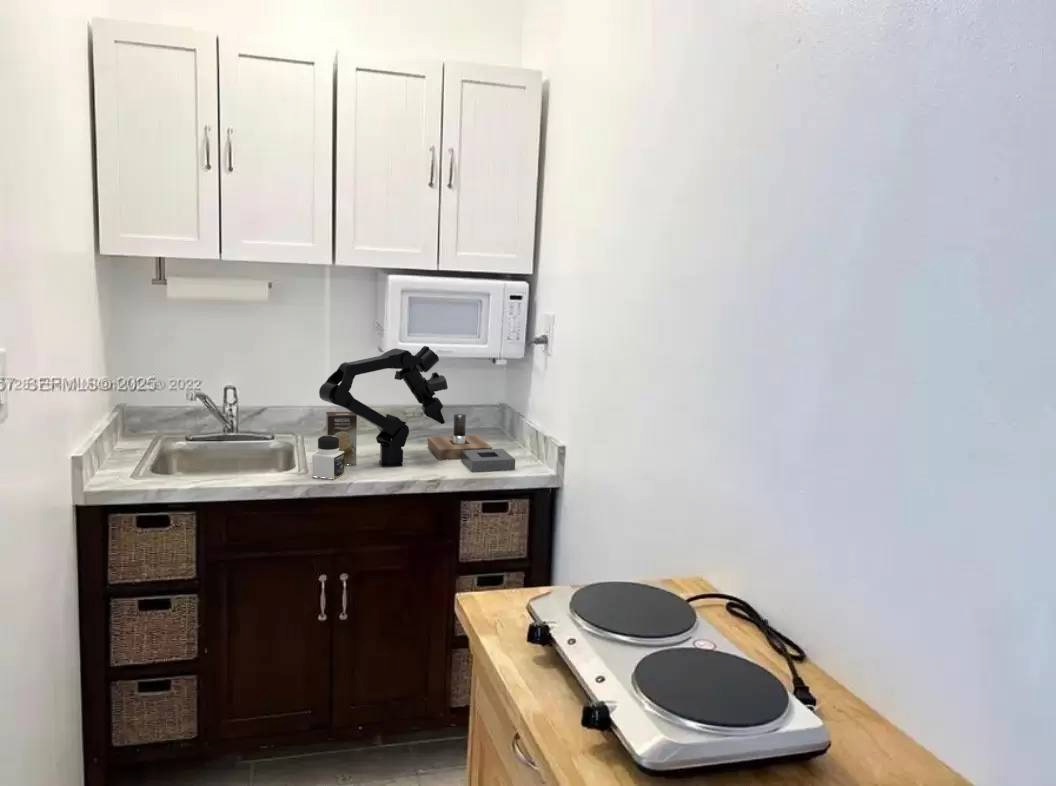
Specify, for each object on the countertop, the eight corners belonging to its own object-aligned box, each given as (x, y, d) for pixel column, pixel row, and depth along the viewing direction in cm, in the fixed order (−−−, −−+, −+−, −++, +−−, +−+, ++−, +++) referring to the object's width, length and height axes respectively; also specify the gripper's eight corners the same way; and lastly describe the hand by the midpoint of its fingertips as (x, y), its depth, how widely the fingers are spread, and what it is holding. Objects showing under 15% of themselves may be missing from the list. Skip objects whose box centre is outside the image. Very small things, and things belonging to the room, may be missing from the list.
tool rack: (438, 460, 260) (439, 449, 259) (427, 447, 277) (427, 437, 276) (491, 457, 266) (492, 447, 265) (477, 445, 282) (478, 435, 282)
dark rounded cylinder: (459, 454, 268) (460, 416, 266) (450, 452, 271) (451, 414, 269) (467, 452, 272) (468, 414, 270) (458, 450, 274) (459, 413, 272)
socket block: (472, 472, 247) (472, 461, 247) (461, 460, 260) (461, 450, 260) (514, 469, 252) (515, 459, 251) (502, 458, 265) (502, 448, 264)
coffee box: (326, 466, 248) (326, 415, 245) (325, 461, 254) (325, 411, 251) (356, 465, 250) (357, 415, 248) (354, 459, 256) (354, 411, 254)
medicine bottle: (334, 480, 233) (334, 440, 231) (312, 478, 235) (311, 438, 232) (344, 473, 240) (344, 435, 238) (322, 471, 241) (322, 433, 239)
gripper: (443, 377, 247) (468, 415, 254) (430, 358, 263) (453, 394, 271) (413, 397, 246) (439, 434, 253) (401, 377, 262) (426, 412, 270)
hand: (440, 417), depth 262 cm, fingers open, 9 cm apart
